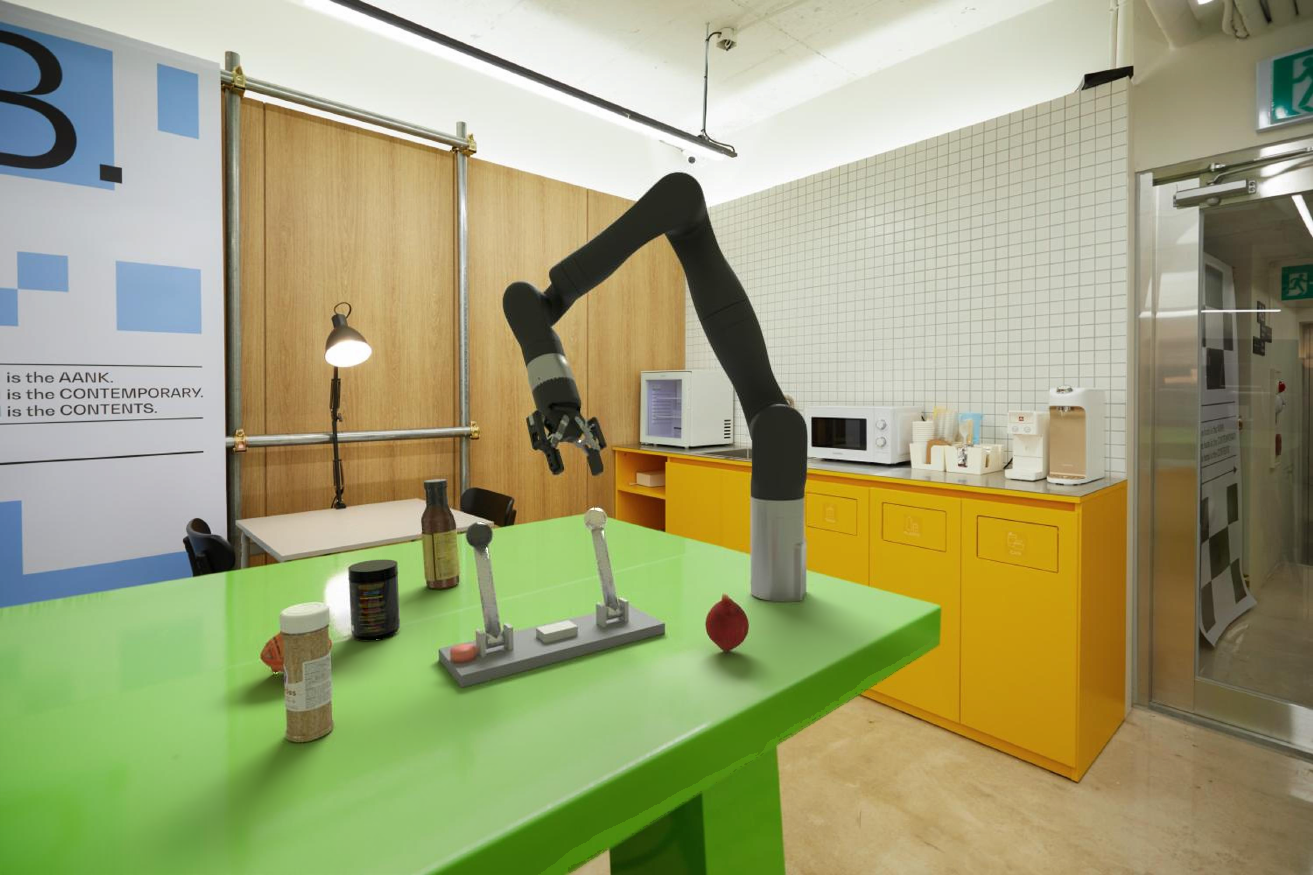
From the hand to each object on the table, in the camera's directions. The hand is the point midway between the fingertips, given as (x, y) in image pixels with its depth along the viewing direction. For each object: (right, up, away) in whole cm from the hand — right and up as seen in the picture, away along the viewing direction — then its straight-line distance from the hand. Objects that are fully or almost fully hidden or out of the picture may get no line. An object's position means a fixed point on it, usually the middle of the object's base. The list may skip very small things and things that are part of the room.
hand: (579, 473), depth 102 cm
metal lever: (+6, -20, -8) cm, 22 cm away
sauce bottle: (-28, -22, +16) cm, 39 cm away
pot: (-33, -25, -21) cm, 47 cm away
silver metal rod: (-9, -21, -18) cm, 29 cm away
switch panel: (-1, -24, -13) cm, 27 cm away
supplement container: (-29, -24, -8) cm, 39 cm away
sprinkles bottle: (-24, -26, -35) cm, 50 cm away
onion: (+22, -24, -16) cm, 36 cm away
